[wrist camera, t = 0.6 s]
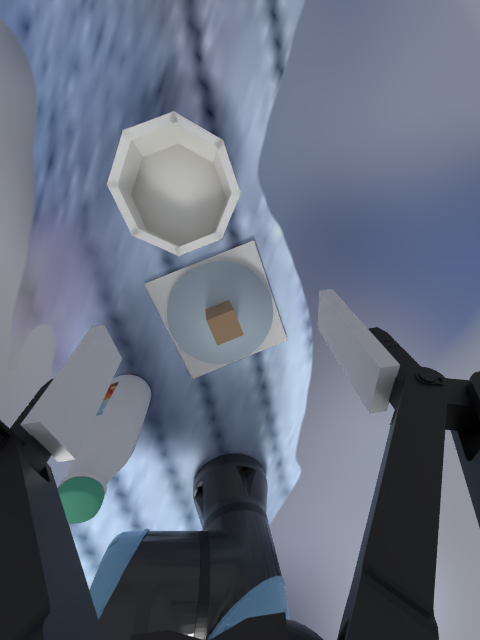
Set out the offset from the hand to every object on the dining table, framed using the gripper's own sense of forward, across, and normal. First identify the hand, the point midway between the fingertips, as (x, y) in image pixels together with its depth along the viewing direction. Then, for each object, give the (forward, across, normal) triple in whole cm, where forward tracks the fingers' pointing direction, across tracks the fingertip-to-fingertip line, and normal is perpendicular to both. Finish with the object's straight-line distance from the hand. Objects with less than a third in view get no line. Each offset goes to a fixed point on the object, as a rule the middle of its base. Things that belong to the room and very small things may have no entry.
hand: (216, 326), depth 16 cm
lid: (+22, +2, +13) cm, 26 cm away
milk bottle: (+18, +20, +23) cm, 35 cm away
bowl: (+27, +4, -4) cm, 28 cm away
